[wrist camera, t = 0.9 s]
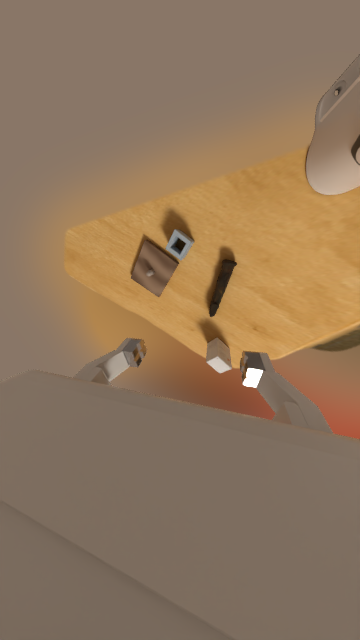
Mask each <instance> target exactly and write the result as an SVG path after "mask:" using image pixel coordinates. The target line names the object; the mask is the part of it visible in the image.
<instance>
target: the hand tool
mask: <svg viewBox="0 0 360 640" xmlns="http://www.w3.org/2000/svg"><path fill="white" fill-rule="evenodd" d="M222 262H223V265H222V270H221V272H220V275H219V277H218V280H217V285H216V288H215V292H214V295H213V298H212V301H211V305H210V311H209V314H210V317H212V316H214V315H215V314H216V311H217V309H218V308H219V304H220V302H221V299H222V297H223V294H224V292H225V289H226V287H227V284H228V282H229V279H230V277H231V274H232V271H233V269H234V267H235V266H236V265H237V263H236V262H234V261H230V260H223V261H222Z"/></svg>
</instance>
